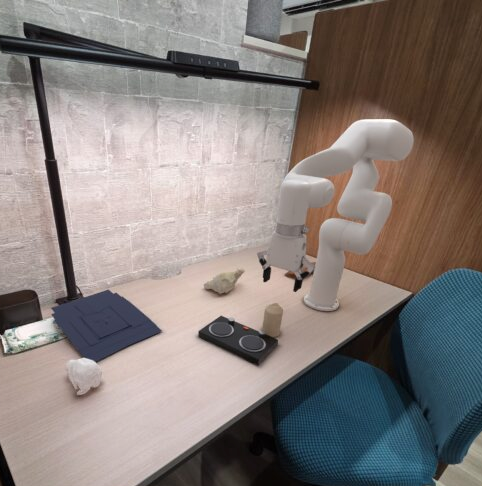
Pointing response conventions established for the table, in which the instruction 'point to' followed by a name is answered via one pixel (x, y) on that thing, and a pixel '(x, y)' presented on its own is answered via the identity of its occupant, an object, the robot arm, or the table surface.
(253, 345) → the hot plate
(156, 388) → the table surface
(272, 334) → the candle
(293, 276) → the sunglasses case
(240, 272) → the cream lumpy piece
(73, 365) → the crumpled paper
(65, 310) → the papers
